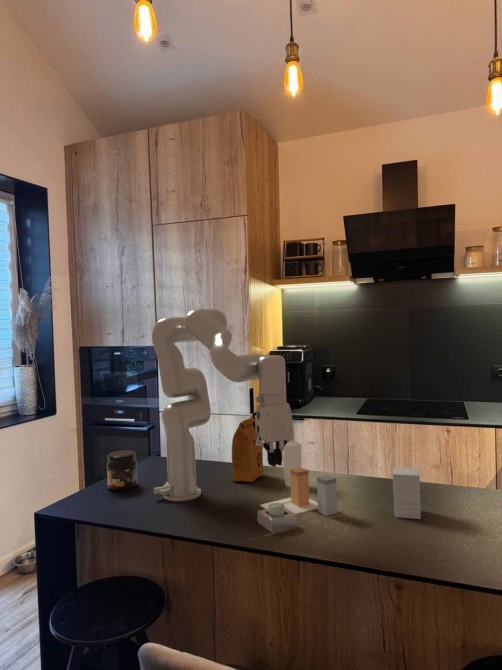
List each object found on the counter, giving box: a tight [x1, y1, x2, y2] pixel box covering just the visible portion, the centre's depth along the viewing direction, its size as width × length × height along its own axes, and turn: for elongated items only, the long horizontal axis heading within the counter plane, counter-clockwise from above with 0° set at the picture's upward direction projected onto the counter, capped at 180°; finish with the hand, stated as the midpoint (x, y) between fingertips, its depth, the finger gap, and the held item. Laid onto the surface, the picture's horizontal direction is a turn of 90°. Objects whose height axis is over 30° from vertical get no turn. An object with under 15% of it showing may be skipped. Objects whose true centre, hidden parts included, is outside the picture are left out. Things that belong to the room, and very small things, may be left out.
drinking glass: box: [282, 440, 303, 488], centre depth 166 cm, size 7×7×15 cm
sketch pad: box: [259, 497, 318, 515], centre depth 147 cm, size 16×12×1 cm
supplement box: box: [392, 466, 422, 520], centre depth 138 cm, size 7×7×13 cm
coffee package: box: [231, 416, 264, 483], centre depth 176 cm, size 10×12×22 cm
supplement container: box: [106, 449, 138, 492], centre depth 171 cm, size 10×10×12 cm
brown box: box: [290, 466, 310, 507], centre depth 148 cm, size 4×4×11 cm
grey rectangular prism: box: [316, 474, 338, 517], centre depth 141 cm, size 4×4×11 cm
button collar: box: [256, 507, 298, 534], centre depth 134 cm, size 8×8×4 cm
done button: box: [269, 503, 285, 518], centre depth 133 cm, size 4×4×4 cm
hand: (275, 464), depth 133 cm, fingers closed
